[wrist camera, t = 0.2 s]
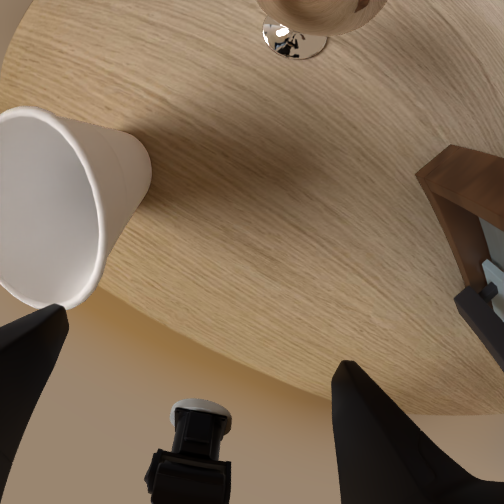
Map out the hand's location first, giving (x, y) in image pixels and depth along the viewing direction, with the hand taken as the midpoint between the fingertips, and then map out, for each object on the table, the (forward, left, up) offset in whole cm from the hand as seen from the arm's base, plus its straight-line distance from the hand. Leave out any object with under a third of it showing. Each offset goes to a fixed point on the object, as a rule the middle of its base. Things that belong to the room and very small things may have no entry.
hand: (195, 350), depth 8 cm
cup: (+2, +9, -14) cm, 17 cm away
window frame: (+1, -23, -14) cm, 27 cm away
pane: (-4, -25, -12) cm, 28 cm away
